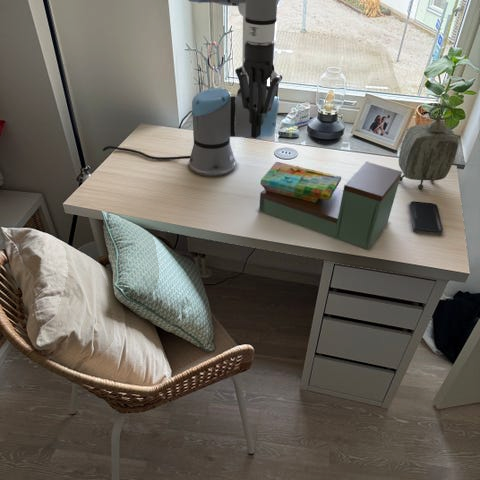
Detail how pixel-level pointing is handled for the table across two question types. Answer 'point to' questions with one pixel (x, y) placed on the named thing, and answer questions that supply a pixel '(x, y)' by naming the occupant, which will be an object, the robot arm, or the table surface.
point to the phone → (425, 218)
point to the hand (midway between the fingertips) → (255, 135)
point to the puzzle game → (300, 182)
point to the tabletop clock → (428, 150)
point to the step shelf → (343, 206)
